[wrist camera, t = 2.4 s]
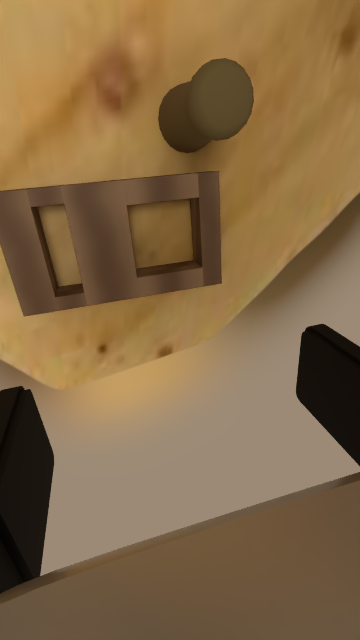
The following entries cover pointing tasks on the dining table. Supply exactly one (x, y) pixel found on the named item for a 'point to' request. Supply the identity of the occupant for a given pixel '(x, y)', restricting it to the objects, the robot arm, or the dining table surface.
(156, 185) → the socket board
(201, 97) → the olive peg
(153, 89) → the dining table surface
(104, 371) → the dining table surface
